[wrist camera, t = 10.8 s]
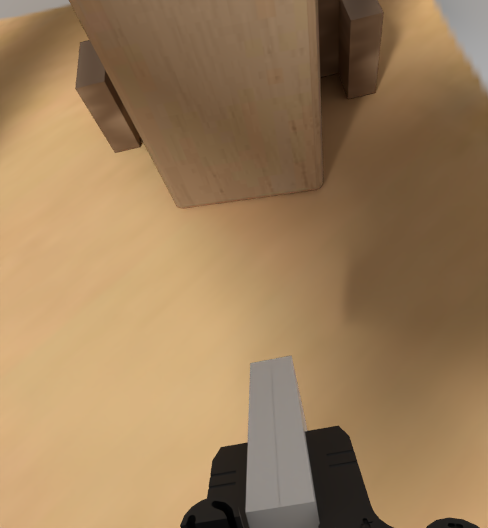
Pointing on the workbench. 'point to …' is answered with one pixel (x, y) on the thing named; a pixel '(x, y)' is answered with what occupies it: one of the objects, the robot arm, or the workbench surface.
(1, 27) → the workbench surface
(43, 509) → the workbench surface
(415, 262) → the workbench surface
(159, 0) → the wooden block
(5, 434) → the workbench surface
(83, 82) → the stop rail
